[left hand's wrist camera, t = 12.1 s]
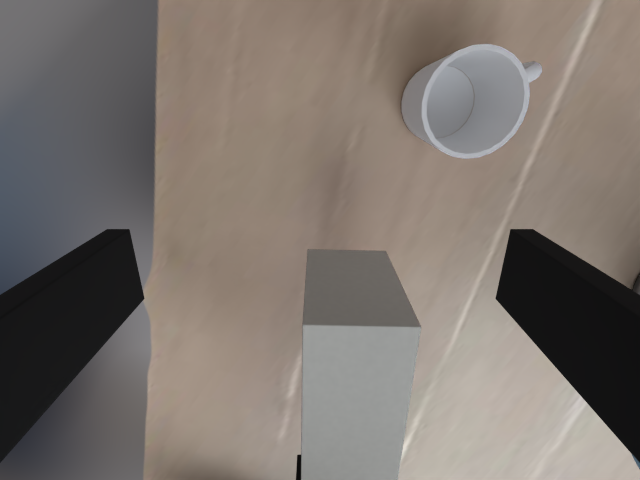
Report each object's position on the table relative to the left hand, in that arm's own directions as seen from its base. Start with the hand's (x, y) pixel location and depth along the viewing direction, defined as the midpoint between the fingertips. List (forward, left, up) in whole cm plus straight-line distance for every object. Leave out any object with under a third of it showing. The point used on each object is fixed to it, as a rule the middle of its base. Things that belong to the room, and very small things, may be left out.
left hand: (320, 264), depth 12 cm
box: (+18, +13, -18) cm, 28 cm away
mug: (-12, +9, -31) cm, 34 cm away
